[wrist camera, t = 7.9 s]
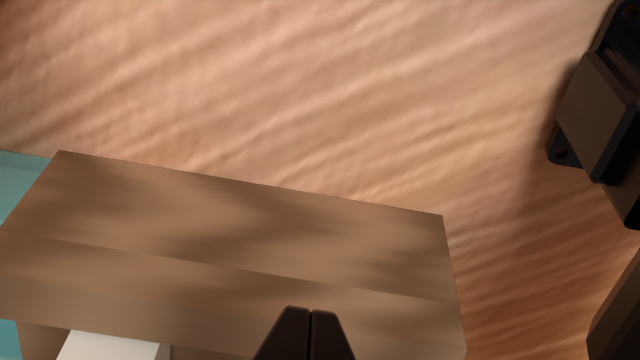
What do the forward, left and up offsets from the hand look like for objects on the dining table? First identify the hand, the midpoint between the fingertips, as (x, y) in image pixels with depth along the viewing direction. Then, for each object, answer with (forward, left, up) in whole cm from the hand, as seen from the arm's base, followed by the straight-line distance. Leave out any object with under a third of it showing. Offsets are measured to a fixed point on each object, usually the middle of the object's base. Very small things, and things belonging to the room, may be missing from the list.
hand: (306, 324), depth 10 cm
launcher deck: (+2, +12, -13) cm, 18 cm away
